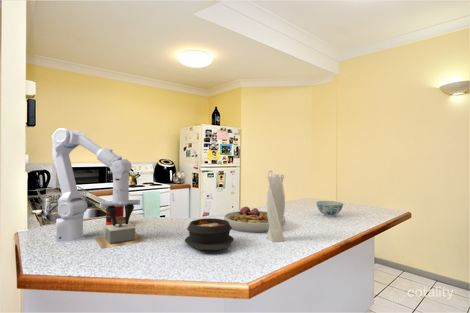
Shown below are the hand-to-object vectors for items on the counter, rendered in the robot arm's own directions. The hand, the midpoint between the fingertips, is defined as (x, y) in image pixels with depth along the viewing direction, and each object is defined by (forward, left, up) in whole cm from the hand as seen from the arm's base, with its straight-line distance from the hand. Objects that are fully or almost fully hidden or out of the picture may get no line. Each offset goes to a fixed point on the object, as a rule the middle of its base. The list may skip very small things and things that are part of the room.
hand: (120, 224), depth 105 cm
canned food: (+4, +29, -7) cm, 30 cm away
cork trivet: (0, 0, -6) cm, 6 cm away
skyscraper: (+52, -33, -7) cm, 62 cm away
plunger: (0, 0, -6) cm, 6 cm away
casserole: (+27, -23, -7) cm, 36 cm away
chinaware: (+113, -16, -7) cm, 114 cm away
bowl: (+60, -10, -7) cm, 61 cm away
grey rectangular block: (0, 0, -6) cm, 6 cm away
